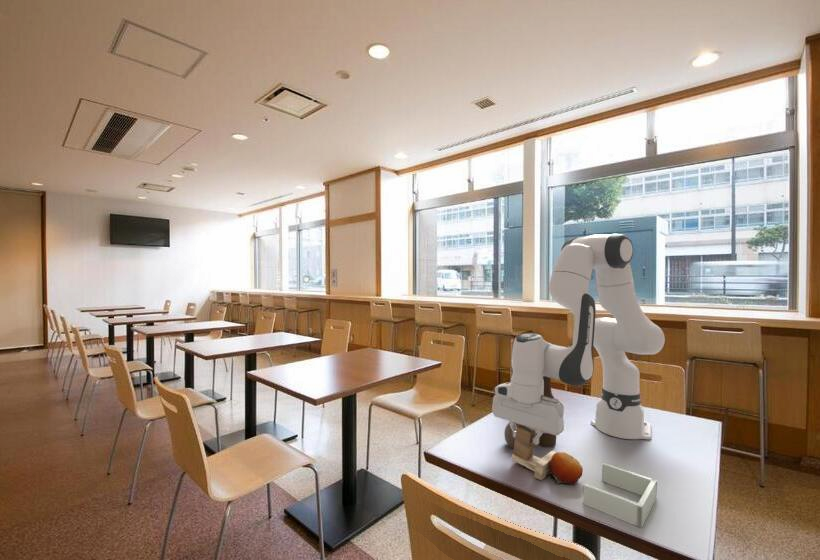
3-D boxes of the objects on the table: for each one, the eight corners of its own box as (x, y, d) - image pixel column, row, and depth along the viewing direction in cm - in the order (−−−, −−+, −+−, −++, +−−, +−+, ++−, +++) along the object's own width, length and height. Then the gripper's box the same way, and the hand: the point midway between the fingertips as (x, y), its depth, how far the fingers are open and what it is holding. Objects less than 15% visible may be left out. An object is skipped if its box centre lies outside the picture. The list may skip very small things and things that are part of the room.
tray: (603, 479, 101) (603, 462, 101) (656, 498, 92) (656, 480, 92) (583, 503, 90) (583, 484, 90) (641, 527, 82) (642, 507, 81)
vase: (528, 452, 115) (528, 423, 115) (504, 449, 117) (505, 421, 117) (525, 442, 122) (526, 415, 122) (503, 440, 124) (504, 413, 123)
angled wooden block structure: (524, 451, 113) (528, 420, 112) (557, 467, 106) (562, 434, 105) (507, 462, 106) (511, 429, 105) (541, 480, 99) (546, 445, 98)
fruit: (537, 467, 103) (552, 442, 104) (560, 481, 104) (575, 456, 104) (552, 484, 95) (568, 456, 96) (577, 499, 96) (593, 471, 96)
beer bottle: (555, 439, 125) (557, 366, 125) (556, 449, 118) (558, 372, 117) (530, 435, 128) (532, 364, 127) (530, 445, 120) (532, 369, 120)
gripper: (568, 398, 103) (567, 449, 103) (501, 382, 117) (500, 426, 117) (559, 403, 98) (557, 456, 98) (490, 386, 112) (488, 432, 112)
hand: (525, 440), depth 108 cm, fingers open, 4 cm apart
